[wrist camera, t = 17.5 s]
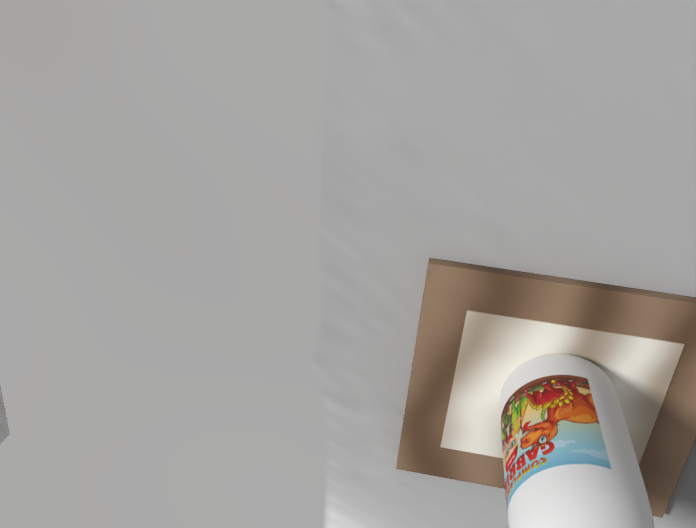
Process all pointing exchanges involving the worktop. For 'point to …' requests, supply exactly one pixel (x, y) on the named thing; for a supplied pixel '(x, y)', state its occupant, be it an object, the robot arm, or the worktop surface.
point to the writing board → (536, 340)
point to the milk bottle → (568, 449)
